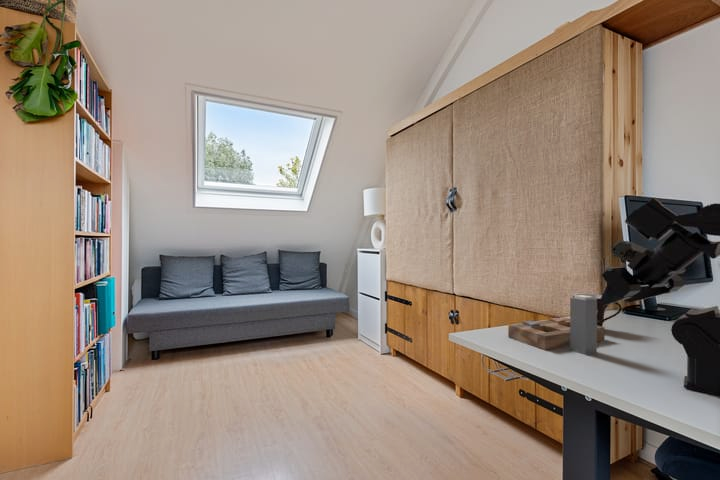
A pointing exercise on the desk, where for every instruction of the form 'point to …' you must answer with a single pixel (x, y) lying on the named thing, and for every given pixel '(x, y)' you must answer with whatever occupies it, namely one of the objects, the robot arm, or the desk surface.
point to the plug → (583, 324)
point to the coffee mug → (601, 309)
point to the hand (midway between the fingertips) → (614, 302)
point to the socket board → (546, 333)
